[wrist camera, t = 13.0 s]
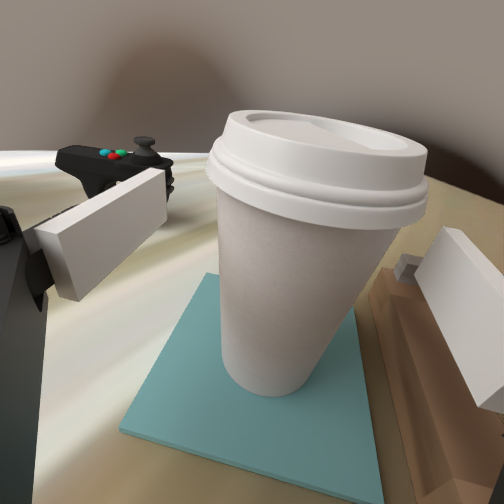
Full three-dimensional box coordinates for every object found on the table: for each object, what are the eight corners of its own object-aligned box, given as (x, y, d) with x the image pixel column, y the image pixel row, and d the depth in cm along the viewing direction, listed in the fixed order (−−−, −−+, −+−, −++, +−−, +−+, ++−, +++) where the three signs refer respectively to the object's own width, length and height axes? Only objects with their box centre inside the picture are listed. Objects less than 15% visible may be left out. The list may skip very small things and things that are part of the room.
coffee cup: (346, 435, 16) (526, 184, 7) (181, 412, 15) (173, 130, 7) (322, 312, 24) (395, 126, 15) (213, 297, 23) (226, 100, 15)
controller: (167, 236, 32) (162, 147, 26) (64, 219, 32) (37, 127, 26) (179, 219, 35) (177, 138, 30) (86, 204, 35) (67, 121, 30)
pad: (351, 311, 25) (353, 306, 25) (380, 510, 13) (385, 507, 13) (206, 277, 26) (206, 272, 26) (120, 431, 15) (118, 426, 14)
